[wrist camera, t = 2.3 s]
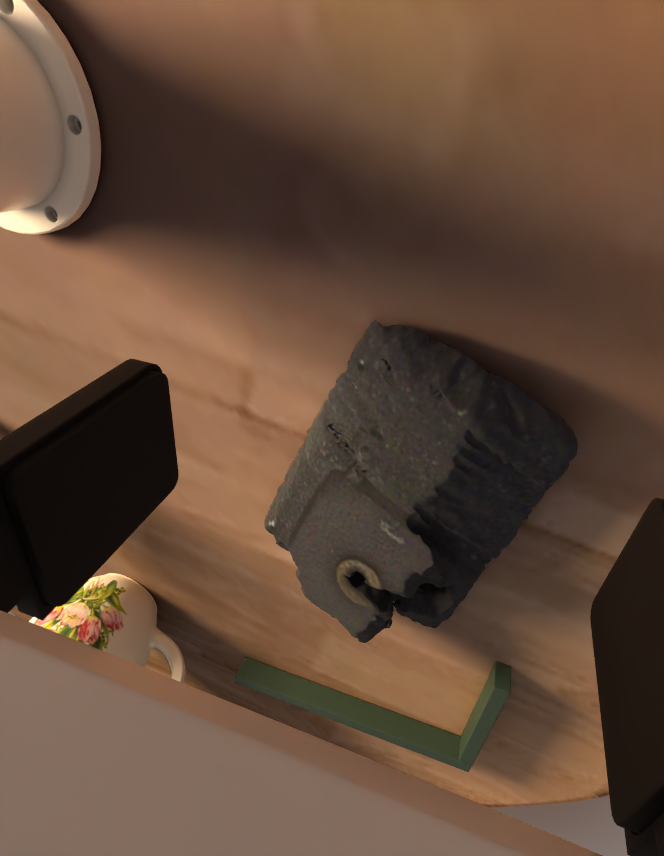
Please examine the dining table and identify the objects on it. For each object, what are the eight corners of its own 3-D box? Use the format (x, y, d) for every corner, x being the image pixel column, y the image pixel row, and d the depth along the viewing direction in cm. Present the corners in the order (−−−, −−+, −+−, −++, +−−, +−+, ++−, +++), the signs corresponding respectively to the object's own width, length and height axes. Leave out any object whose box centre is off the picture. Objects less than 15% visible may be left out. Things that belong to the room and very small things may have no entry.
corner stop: (245, 663, 51) (235, 683, 50) (243, 577, 44) (231, 596, 42) (471, 747, 46) (468, 772, 45) (511, 666, 39) (510, 693, 37)
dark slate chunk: (629, 431, 27) (646, 486, 23) (426, 628, 40) (415, 683, 36) (375, 292, 27) (350, 323, 23) (256, 532, 40) (228, 577, 37)
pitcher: (217, 661, 53) (136, 808, 42) (71, 603, 56) (-39, 725, 45) (215, 595, 47) (119, 747, 36) (52, 535, 50) (-82, 656, 39)
